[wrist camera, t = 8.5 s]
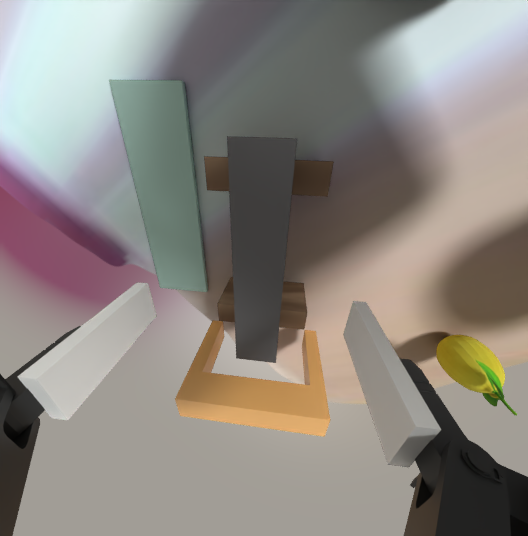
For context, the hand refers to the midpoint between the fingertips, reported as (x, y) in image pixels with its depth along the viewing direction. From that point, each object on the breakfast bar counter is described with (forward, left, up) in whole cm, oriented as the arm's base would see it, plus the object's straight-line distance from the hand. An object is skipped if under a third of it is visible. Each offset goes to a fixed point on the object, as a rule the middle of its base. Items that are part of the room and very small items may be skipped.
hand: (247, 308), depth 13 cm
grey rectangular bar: (0, 0, -7) cm, 7 cm away
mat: (-3, -12, -13) cm, 18 cm away
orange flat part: (+13, 0, -11) cm, 17 cm away
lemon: (+13, +26, -14) cm, 32 cm away
